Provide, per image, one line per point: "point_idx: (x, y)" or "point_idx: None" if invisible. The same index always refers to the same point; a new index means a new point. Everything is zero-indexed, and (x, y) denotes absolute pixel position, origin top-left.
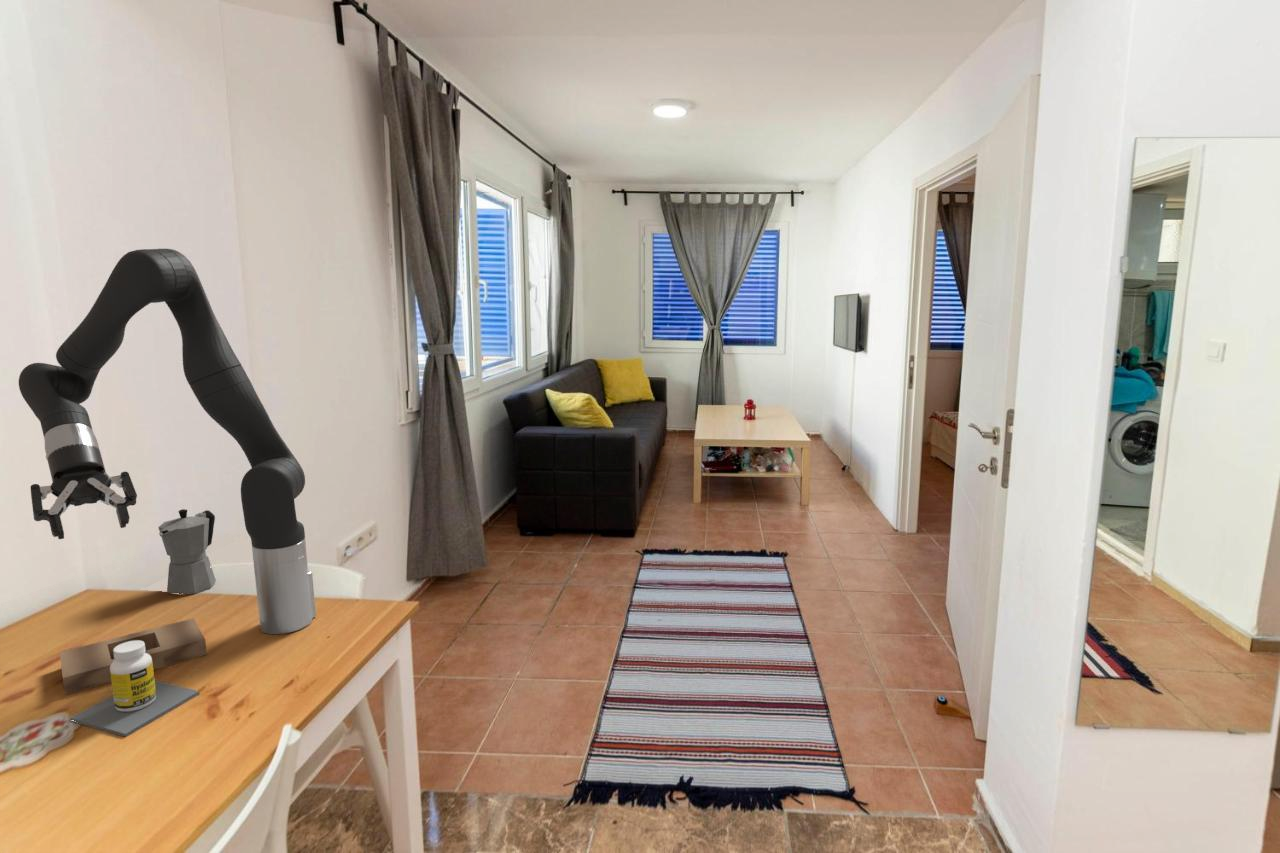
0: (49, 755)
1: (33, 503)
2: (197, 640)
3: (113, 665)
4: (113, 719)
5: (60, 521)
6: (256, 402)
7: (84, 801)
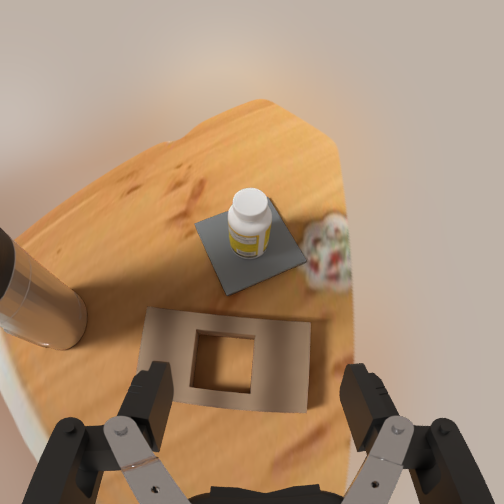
0: (322, 214)
1: (468, 455)
2: (155, 310)
3: (268, 210)
4: (272, 227)
5: (364, 394)
6: None
7: (301, 147)
